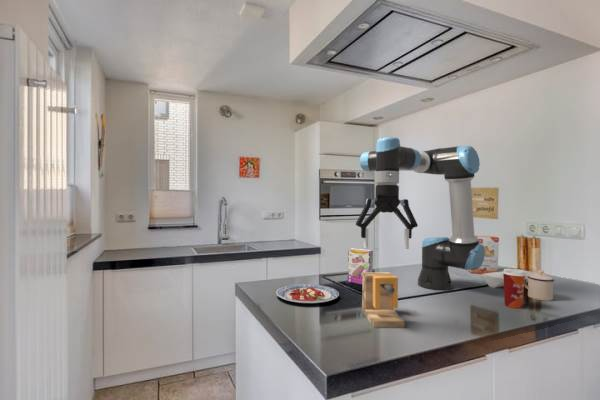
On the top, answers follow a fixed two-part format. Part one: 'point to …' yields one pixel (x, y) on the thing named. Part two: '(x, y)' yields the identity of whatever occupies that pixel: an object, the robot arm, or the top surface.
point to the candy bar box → (359, 264)
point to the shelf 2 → (499, 278)
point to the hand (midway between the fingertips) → (386, 248)
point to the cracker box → (488, 255)
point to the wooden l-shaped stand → (385, 313)
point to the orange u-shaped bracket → (376, 290)
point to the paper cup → (513, 287)
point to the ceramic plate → (307, 293)
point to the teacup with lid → (540, 286)
